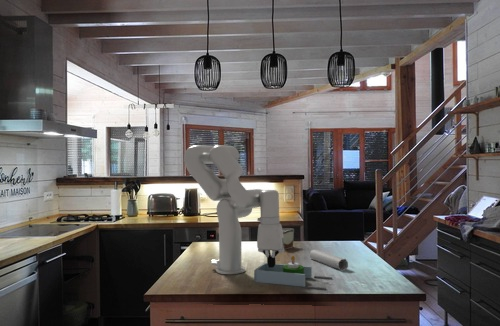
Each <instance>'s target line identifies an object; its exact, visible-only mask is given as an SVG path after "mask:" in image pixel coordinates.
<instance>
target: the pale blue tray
mask: <svg viewBox="0 0 500 326" xmlns="http://www.w3.org/2000/svg"><path fill="white" fill-rule="evenodd" d="M284 265H285V264H283V263H282V264H281V263H276V265H275V266H274V267H273V268H271V267H270V268H269V267H268V265H267V262H263V263H262V264H261V265H259V266H257V268H255V269H254V270H253V271H254V273H253V277H254V278H253V279H254V280H253V282H254V283H261V284H272V285H273V284H274V285H283V286H284V285H285V286H293V287H304V288H305V287H306V279H312V266H311V265H310V266H308V265H307V266H306V265H302V266H303V267H304V274H297V273H286V272H283V266H284Z"/></svg>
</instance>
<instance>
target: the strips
mask: <svg viewBox="0 0 500 326" xmlns="http://www.w3.org/2000/svg"><path fill="white" fill-rule="evenodd" d="M314 279H323V280H332V279H333V277H332V276H322V275H314ZM311 288H312V289H313V290H321V289H322V291H323V290H324V291H326V290H327V287H324V286H315V285H314V286H313V285H306V289H311Z"/></svg>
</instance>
